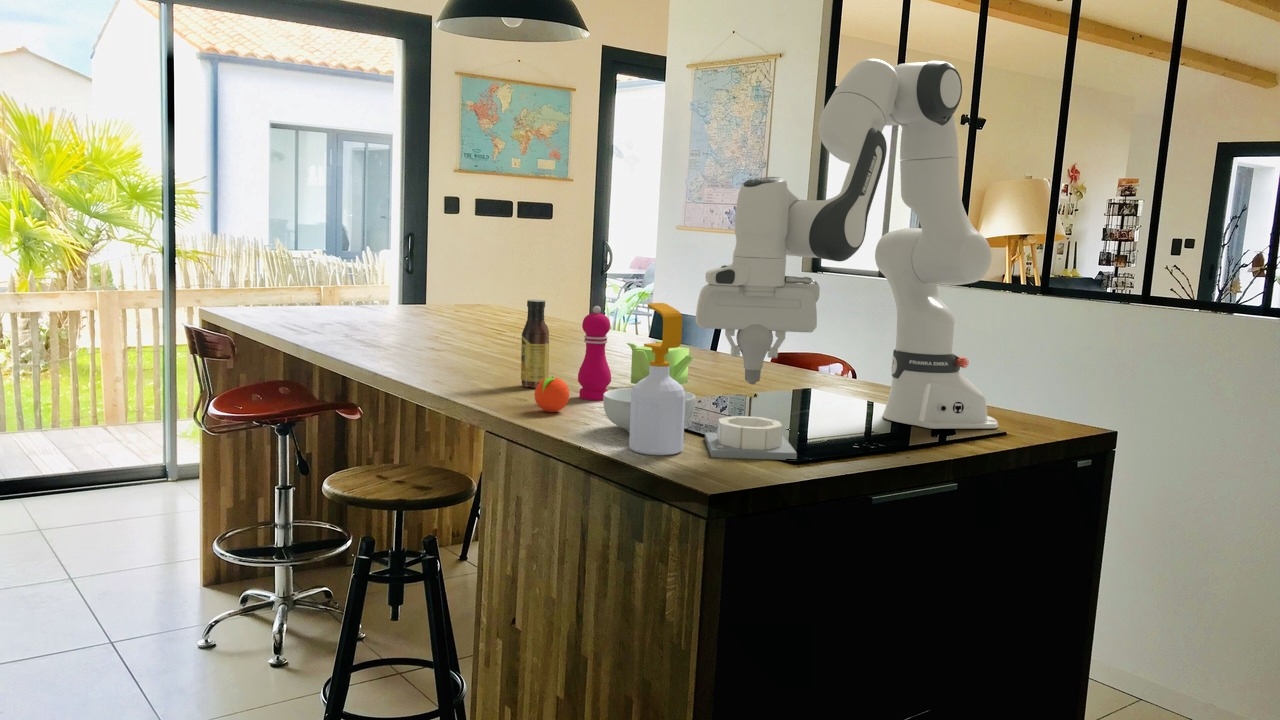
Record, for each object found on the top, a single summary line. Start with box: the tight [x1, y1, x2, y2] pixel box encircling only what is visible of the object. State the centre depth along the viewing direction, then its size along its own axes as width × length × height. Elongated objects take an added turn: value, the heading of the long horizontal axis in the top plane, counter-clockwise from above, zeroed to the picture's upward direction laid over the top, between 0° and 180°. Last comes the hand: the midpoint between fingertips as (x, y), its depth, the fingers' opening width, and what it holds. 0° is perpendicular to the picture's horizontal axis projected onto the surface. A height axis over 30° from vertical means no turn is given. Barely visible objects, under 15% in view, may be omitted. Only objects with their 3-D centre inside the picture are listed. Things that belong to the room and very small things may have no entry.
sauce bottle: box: [520, 299, 550, 389], centre depth 222 cm, size 6×6×20 cm
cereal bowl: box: [602, 387, 697, 434], centre depth 178 cm, size 17×17×7 cm
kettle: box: [625, 340, 695, 385], centre depth 227 cm, size 15×14×11 cm
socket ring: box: [717, 415, 784, 450], centre depth 167 cm, size 10×10×4 cm
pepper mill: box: [577, 305, 612, 402], centre depth 210 cm, size 7×7×20 cm
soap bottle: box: [628, 302, 686, 456], centre depth 162 cm, size 9×9×25 cm
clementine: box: [534, 376, 570, 413], centre depth 193 cm, size 8×7×7 cm
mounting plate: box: [704, 432, 798, 461], centre depth 167 cm, size 14×14×2 cm
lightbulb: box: [736, 324, 774, 385], centre depth 165 cm, size 6×6×11 cm
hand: (753, 356), depth 165 cm, fingers closed on lightbulb, 5 cm apart
